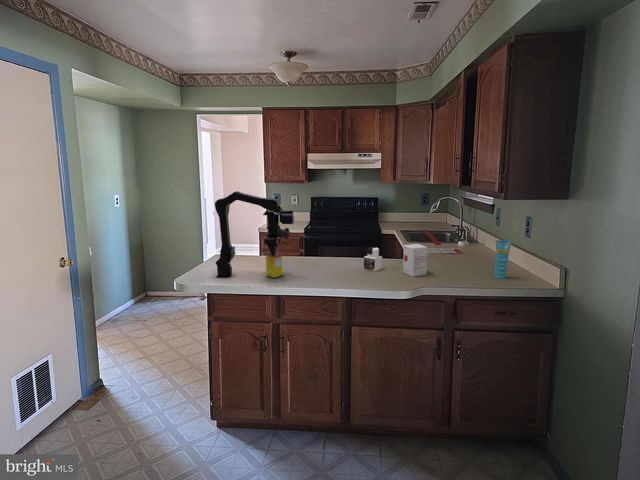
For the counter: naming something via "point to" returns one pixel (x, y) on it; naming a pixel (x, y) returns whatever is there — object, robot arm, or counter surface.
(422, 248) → the supplement box
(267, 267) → the supplement box
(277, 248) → the walnut cube
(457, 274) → the counter surface
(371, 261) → the medicine bottle
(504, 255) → the tube
